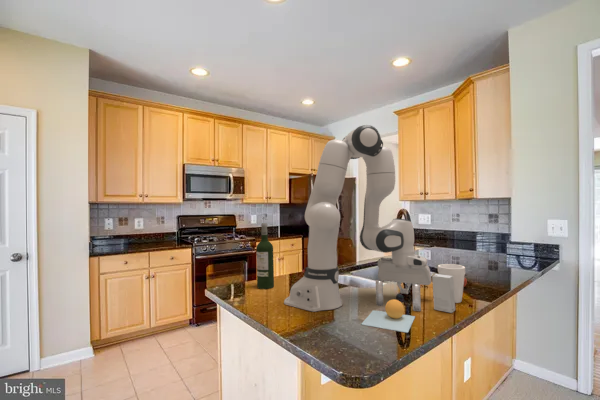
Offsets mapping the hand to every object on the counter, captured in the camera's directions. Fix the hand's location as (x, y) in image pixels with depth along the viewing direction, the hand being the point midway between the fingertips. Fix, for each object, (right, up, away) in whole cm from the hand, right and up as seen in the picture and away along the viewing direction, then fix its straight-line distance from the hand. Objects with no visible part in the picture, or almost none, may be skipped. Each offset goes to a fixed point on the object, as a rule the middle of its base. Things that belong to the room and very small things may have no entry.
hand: (404, 293), depth 121 cm
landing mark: (-13, -2, -24) cm, 27 cm away
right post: (-1, -1, -15) cm, 15 cm away
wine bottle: (-58, -4, +21) cm, 62 cm away
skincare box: (+9, -1, -15) cm, 18 cm away
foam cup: (+17, -1, -5) cm, 18 cm away
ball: (-11, +1, -21) cm, 24 cm away
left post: (-12, -2, -8) cm, 15 cm away
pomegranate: (+27, -1, +12) cm, 30 cm away
